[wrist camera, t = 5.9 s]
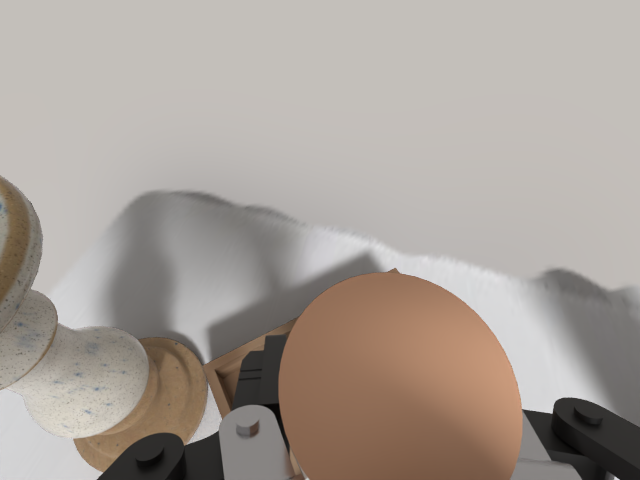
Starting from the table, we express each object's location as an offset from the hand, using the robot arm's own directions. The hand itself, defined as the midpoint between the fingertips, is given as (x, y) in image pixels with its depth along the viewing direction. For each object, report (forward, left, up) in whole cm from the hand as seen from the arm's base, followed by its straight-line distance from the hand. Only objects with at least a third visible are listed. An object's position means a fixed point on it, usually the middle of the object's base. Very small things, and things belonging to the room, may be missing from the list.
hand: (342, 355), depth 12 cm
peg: (+1, +2, -5) cm, 5 cm away
